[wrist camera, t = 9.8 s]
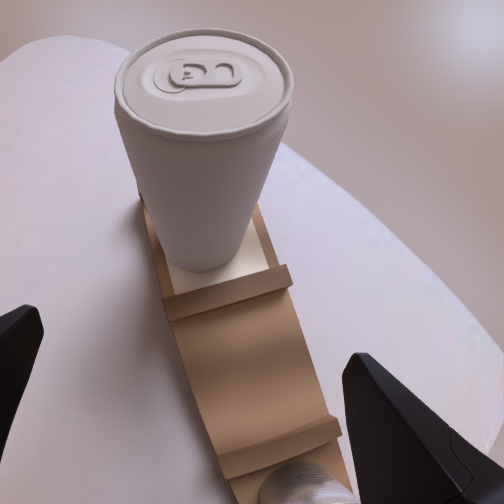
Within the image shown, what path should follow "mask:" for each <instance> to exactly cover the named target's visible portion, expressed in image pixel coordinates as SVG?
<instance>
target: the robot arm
mask: <svg viewBox="0 0 504 504" xmlns="http://www.w3.org/2000/svg"><path fill="white" fill-rule="evenodd" d="M43 335H44V329H43V325H42V322H41V318H40V315H39V311H38V309H37V308H36V307H34V306H31V305H26V304H25V305H22V306H20V307H18V308H16V309H15V310H13V311H11V312H9V313H7V314H5V315H3V316H1V317H0V462H1V458H2V454H3V451H4V448H5V444H6V441H7V438H8V435H9V431H10V428H11V425H12V422H13V420H14V417H15V414H16V411H17V408H18V406H19V403H20V400H21V398H22V395H23V393H24V390H25V388H26V385H27V383H28V380H29V377H30V374H31V372H32V368H33V365H34V362H35V359H36V356H37V353H38V350H39V347H40V344H41V341H42V339H43ZM342 384H343V394H344V404H345V416H346V424H347V430H348V435H349V440H350V445H351V450H352V456H353V461H354V466H355V472H356V478H357V483H358V489H359V495H360V502H361V504H504V469H503V468H502V467H501V466H499V465H498V464H497V463H495V462H494V461H493V460H491V459H490V458H488V457H487V456H486V455H484V454H483V453H482V452H480V451H479V450H478V449H476V448H475V447H474V446H472V445H471V444H470V443H469V442H468V441H466V440H465V439H464V438H463V437H462V436H460V435H459V434H458V433H457V432H456V431H455V430H454V429H453V428H451V427H449V425H448V424H447V423H446V422H445V421H443V420H442V419H441V418H440V417H439V416H438V415H437V414H436V413H435V412H433V411H432V410H431V409H430V408H429V407H428V406H427V405H426V404H424V403H423V402H422V401H421V400H420V399H419V398H418V397H417V396H415V395H414V394H413V393H412V392H411V391H410V390H409V389H408V388H406V387H405V386H404V385H403V384H402V383H401V382H400V381H399V380H397V379H396V378H395V377H394V376H393V375H392V374H391V373H390V372H388V371H387V370H386V369H385V368H384V367H383V366H382V365H381V364H379V363H378V362H377V361H376V360H375V359H374V358H373V357H372V356H371V355H369V354H368V353H354V354H353V355H352V356H351V358H350V360H349V362H348V364H347V366H346V367H345V369H344V371H343V374H342Z"/></svg>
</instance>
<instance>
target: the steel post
mask: <svg viewBox="0 0 504 504" xmlns="http://www.w3.org/2000/svg"><path fill="white" fill-rule="evenodd" d="M259 501H260V504H361V502H360V499H359V498H358V497H356V496H355V495H354V494H353V493H352V492H350V491H349V490H348V489H347V488H346V487H344V486H343V485H342V484H341V483H340V482H339V481H337V480H336V479H335V478H334V477H333V476H332V475H331V474H329V473H328V472H327V471H326V470H325V469H324V468H323V467H321V466H320V465H318V464H315V463H312V462H307V461H299V462H292V463H289V464H285V465H283V466H281V467H279V468H277V469H276V470H274V471H273V472H271V473H270V474H269V475H268V476H267V477H266V478H265V480H264V481H263V483H262V484H261V487H260V489H259Z"/></svg>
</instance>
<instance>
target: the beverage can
mask: <svg viewBox="0 0 504 504" xmlns="http://www.w3.org/2000/svg"><path fill="white" fill-rule="evenodd" d="M293 90H294V84H293V74H292V72H291V70H290V68H289V66H288V64H287V62H286V60H285V59H284V58H283V57H282V56H281V55H280V54H279V53H278V52H277V51H276V50H275V49H273V48H272V47H270V46H268V45H267V44H265V43H264V42H262V41H261V40H259V39H256V38H254V37H251V36H249V35H246V34H244V33H240V32H235V31H231V30H226V29H215V28H196V29H185V30H181V31H176V32H173V33H168V34H165V35H162V36H160V37H158V38H155V39H153V40H151V41H148V42H147V43H145V44H144V45H142V46H141V47H139V48H138V49H136V50H135V51H133V52H132V53H131V54H130V55H129V57H128V58H127V59H126V60H125V61H124V62H123V63H122V65H121V67H120V69H119V71H118V73H117V75H116V77H115V86H114V94H115V107H114V113H115V117H116V121H117V124H118V127H119V130H120V133H121V137H122V140H123V143H124V146H125V149H126V152H127V155H128V158H129V161H130V164H131V167H132V170H133V172H134V175H135V178H136V181H137V184H138V186H139V189H140V192H141V195H142V197H143V200H144V203H145V205H146V208H147V211H148V213H149V216H150V219H151V221H152V224H153V226H154V229H155V231H156V234H157V236H158V239H159V241H160V244H161V246H162V248H163V250H164V253H165V254H166V256H167V257H168V258H169V259H170V260H171V262H172V263H174V264H175V265H177V266H178V267H180V268H181V269H184V270H187V271H190V272H197V273H205V272H209V271H212V270H215V269H217V268H219V267H221V266H223V265H225V264H226V263H227V262H229V261H230V260H231V259H232V258H233V257H234V256H235V255H236V253H237V252H238V251H239V249H240V246H241V244H242V241H243V238H244V236H245V233H246V230H247V228H248V225H249V222H250V220H251V217H252V214H253V212H254V209H255V206H256V204H257V201H258V198H259V196H260V193H261V190H262V188H263V185H264V183H265V180H266V177H267V175H268V172H269V170H270V167H271V164H272V162H273V159H274V156H275V154H276V151H277V149H278V146H279V143H280V141H281V138H282V136H283V133H284V130H285V128H286V125H287V122H288V119H289V115H290V113H291V109H292V97H291V96H292V92H293Z"/></svg>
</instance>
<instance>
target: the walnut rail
mask: <svg viewBox="0 0 504 504" xmlns="http://www.w3.org/2000/svg"><path fill="white" fill-rule="evenodd" d="M137 187H138V193H139V196H140V198H141V201H142V205H143V210H144V216H145V221H146V225H147V230H148V235H149V240H150V244H151V249H152V253H153V257H154V262H155V266H156V270H157V274H158V278H159V282H160V286H161V290H162V294H163V299H162V301H163V305H164V309H165V312H166V316H167V320H168V321H169V322H170V323H171V326H172V330H173V333H174V337H175V340H176V343H177V346H178V350H179V353H180V356H181V359H182V362H183V365H184V368H185V371H186V374H187V377H188V380H189V383H190V386H191V389H192V392H193V395H194V398H195V400H196V403H197V406H198V409H199V411H200V414H201V417H202V419H203V422H204V424H205V427H206V430H207V432H208V435H209V437H210V440H211V442H212V445H213V447H214V449H215V452H216V454H217V459H218V464H219V466H220V468H221V471H222V473H223V475H224V477H225V480H226V479H227V480H228V482H229V484H230V486H231V488H232V490H233V493H234V495H235V497H236V499H237V501H238V503H239V504H260V501H259V489H260V487H261V484H262V483H263V481H264V480H265V478H266V477H267V476H268V475H269V474H270V473H271V472H273V471H274V470H276V469H277V468H279V467H281V466H283V465H285V464H289V463H292V462H299V461H307V462H312V463H315V464H318V465H320V466H321V467H323V468H324V469H325V470H326V471H327V472H328V473H329V474H331V475H332V476H333V477H334V478H335V479H336V480H337V481H339V482H340V483H341V484H342V485H343V486H344V487H346V488H347V489H348V490H349V491H350V492H352V493H353V491H352V487H351V484H350V481H349V477H348V474H347V471H346V467H345V464H344V461H343V457H342V454H341V451H340V448H339V444H338V441H337V438H338V437H340V436H342V432H341V429H340V425H339V422H338V419H337V418H336V417H333V416H331V415H329V412H328V409H327V406H326V403H325V400H324V397H323V394H322V390H321V387H320V384H319V381H318V378H317V375H316V372H315V369H314V366H313V363H312V360H311V357H310V354H309V351H308V348H307V345H306V342H305V339H304V336H303V333H302V330H301V327H300V324H299V321H298V318H297V315H296V312H295V309H294V306H293V303H292V300H291V297H290V294H289V291H288V289H287V288H288V287H290V286H291V285H293V282H292V279H291V277H290V274H289V271H288V268H287V265H286V264H284V265H281V266H280V265H279V263H278V260H277V257H276V254H275V251H274V248H273V246H272V243H271V240H270V237H269V234H268V231H267V229H266V226H265V223H264V220H263V217H262V215H261V212H260V209H259V206H258V204H256V206H255V209H254V212H253V214H252V217H251V220H250V222H249V225H248V228H247V230H246V233H245V236H244V238H243V241H242V244H241V246H240V249H239V251H238V252H237V253H236V255H235V256H234V257H233V258H232V259H231V260H230V261H229V262H227V263H226V264H225V265H223V266H221V267H219V268H217V269H215V270H212V271H209V272H205V273H197V272H190V271H187V270H184V269H181V268H180V267H178V266H177V265H175V264H174V263H172V262H171V260H170V259H169V258H168V257H167V256H166V254H165V253H164V250H163V248H162V246H161V244H160V241H159V239H158V236H157V234H156V231H155V229H154V226H153V224H152V221H151V219H150V216H149V213H148V211H147V208H146V205H145V203H144V200H143V197H142V195H141V192H140V189H139V186H138V184H137Z"/></svg>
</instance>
